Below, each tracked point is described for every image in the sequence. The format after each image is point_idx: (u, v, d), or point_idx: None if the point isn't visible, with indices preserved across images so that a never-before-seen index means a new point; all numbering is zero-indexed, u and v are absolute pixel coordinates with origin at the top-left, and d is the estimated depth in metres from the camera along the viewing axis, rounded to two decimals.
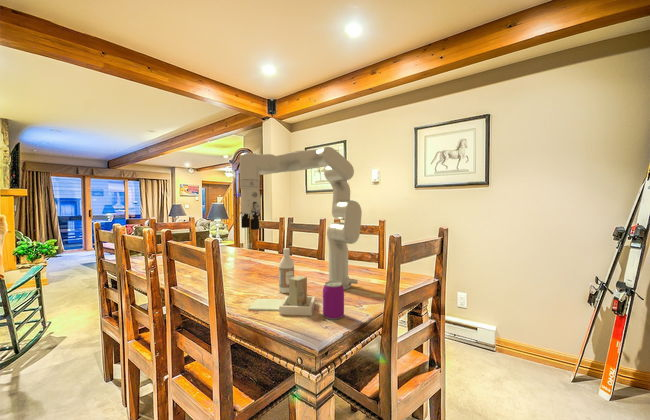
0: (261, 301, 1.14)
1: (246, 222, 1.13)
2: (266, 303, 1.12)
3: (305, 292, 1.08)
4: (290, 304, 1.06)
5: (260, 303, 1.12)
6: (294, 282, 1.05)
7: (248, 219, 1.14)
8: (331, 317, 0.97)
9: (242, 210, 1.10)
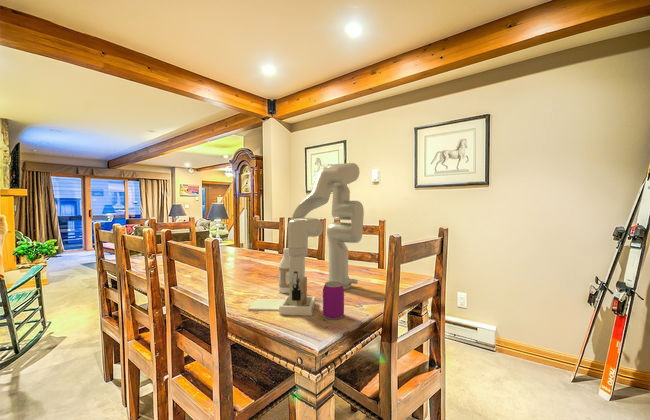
0: (261, 301, 1.14)
1: None
2: (266, 303, 1.12)
3: (305, 292, 1.08)
4: (290, 304, 1.06)
5: (260, 303, 1.12)
6: None
7: None
8: (331, 317, 0.97)
9: (302, 278, 1.05)
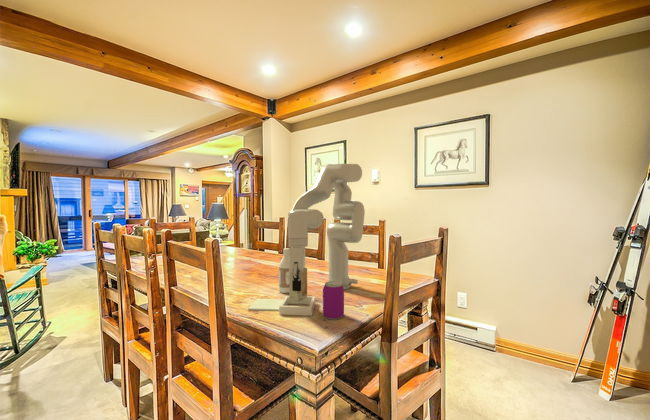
0: (261, 301, 1.14)
1: None
2: (266, 303, 1.12)
3: (305, 283, 1.09)
4: (290, 295, 1.06)
5: (260, 303, 1.12)
6: None
7: None
8: (331, 317, 0.97)
9: (302, 269, 1.05)
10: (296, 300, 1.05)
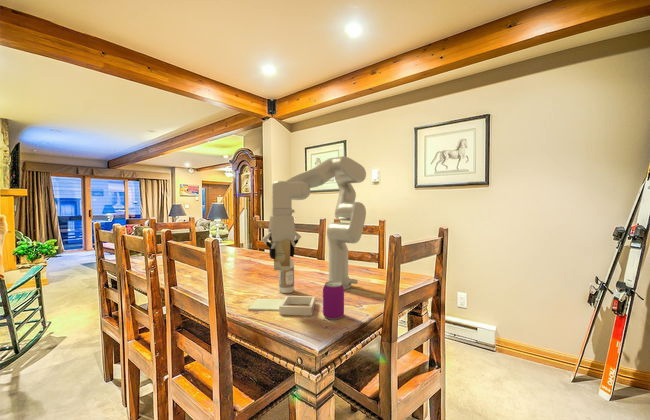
0: (261, 301, 1.14)
1: None
2: (266, 303, 1.12)
3: (287, 254, 1.08)
4: None
5: (260, 303, 1.12)
6: None
7: None
8: (331, 317, 0.97)
9: (278, 239, 1.06)
10: None
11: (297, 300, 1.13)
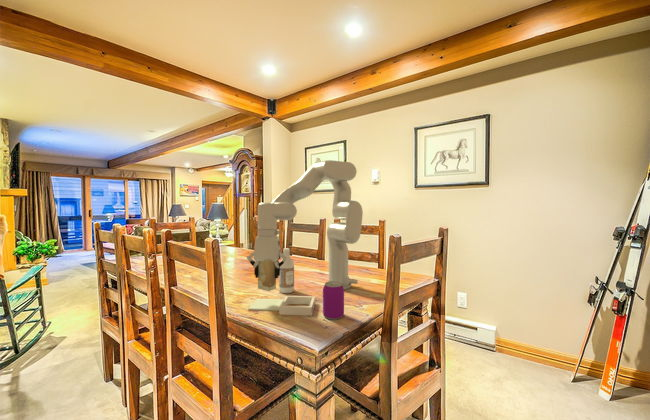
0: (261, 301, 1.14)
1: None
2: (266, 303, 1.12)
3: (267, 275, 1.09)
4: None
5: (260, 303, 1.12)
6: None
7: None
8: (331, 317, 0.97)
9: (259, 259, 1.10)
10: None
11: (297, 300, 1.13)
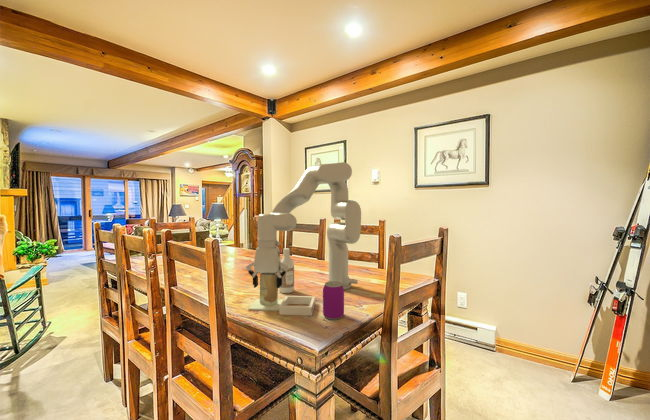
0: None
1: (257, 281, 1.12)
2: None
3: (268, 290, 1.09)
4: None
5: (260, 303, 1.12)
6: None
7: (257, 277, 1.13)
8: (331, 317, 0.97)
9: (259, 270, 1.10)
10: None
11: (297, 300, 1.13)
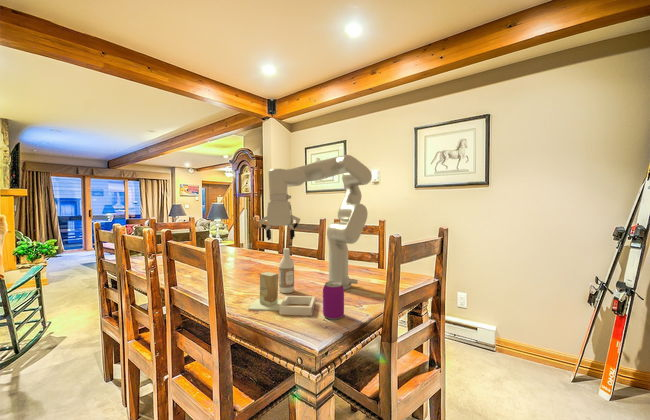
0: None
1: (270, 234, 1.17)
2: None
3: (268, 290, 1.09)
4: None
5: (260, 303, 1.12)
6: None
7: (270, 231, 1.18)
8: (331, 317, 0.97)
9: (272, 223, 1.15)
10: None
11: (297, 300, 1.13)
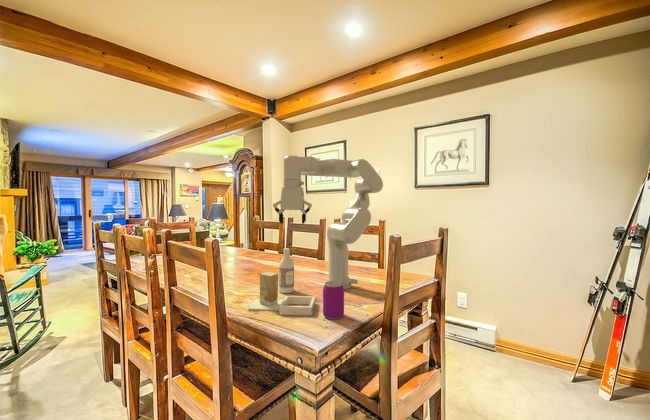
0: None
1: (282, 218, 1.23)
2: None
3: (268, 290, 1.09)
4: None
5: (260, 303, 1.12)
6: None
7: (282, 215, 1.24)
8: (331, 317, 0.97)
9: (285, 207, 1.20)
10: None
11: (297, 300, 1.13)
